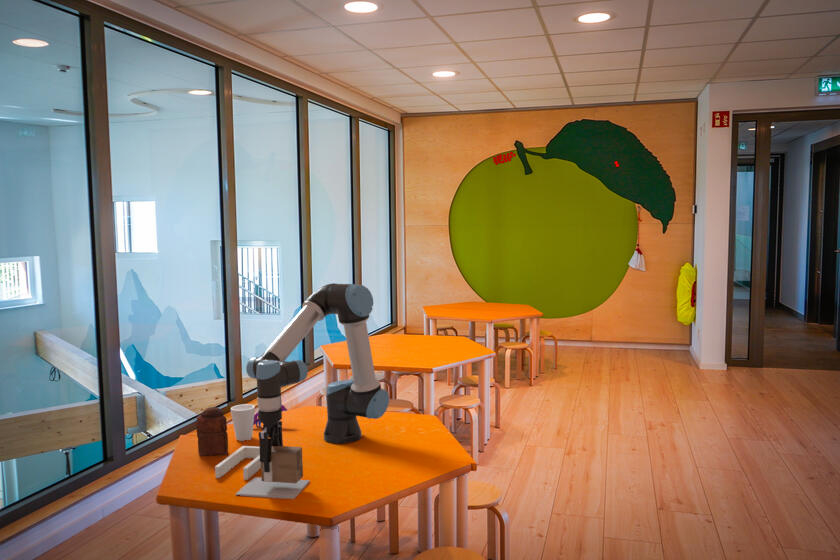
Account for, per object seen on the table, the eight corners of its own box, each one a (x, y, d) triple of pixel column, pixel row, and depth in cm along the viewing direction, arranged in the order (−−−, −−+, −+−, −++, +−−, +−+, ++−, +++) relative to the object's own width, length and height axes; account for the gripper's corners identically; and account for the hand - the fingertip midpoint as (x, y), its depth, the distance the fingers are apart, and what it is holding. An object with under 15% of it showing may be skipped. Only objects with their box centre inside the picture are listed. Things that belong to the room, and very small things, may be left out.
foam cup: (259, 435, 282) (257, 404, 280) (251, 442, 272) (250, 410, 271) (237, 434, 283) (235, 404, 281) (228, 442, 273) (227, 410, 272)
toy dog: (288, 427, 291) (287, 403, 290) (244, 430, 288) (243, 406, 287) (288, 424, 295) (287, 401, 294) (245, 427, 292) (244, 404, 291)
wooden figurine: (230, 449, 264) (228, 404, 263) (227, 455, 258) (225, 409, 256) (199, 451, 263) (197, 405, 262) (195, 457, 257) (193, 410, 255)
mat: (309, 482, 230) (309, 480, 230) (294, 499, 216) (293, 497, 216) (254, 478, 234) (254, 477, 234) (235, 495, 220) (235, 493, 220)
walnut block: (269, 474, 228) (268, 445, 227) (303, 476, 226) (301, 447, 225) (261, 481, 222) (260, 451, 221) (296, 483, 220) (295, 453, 219)
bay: (273, 457, 254) (272, 447, 254) (247, 479, 233) (247, 468, 233) (243, 456, 257) (242, 445, 256) (215, 477, 236) (214, 466, 235)
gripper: (271, 400, 233) (273, 466, 235) (246, 416, 214) (249, 487, 216) (291, 401, 231) (294, 467, 233) (268, 417, 213) (271, 488, 215)
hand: (272, 476), depth 225 cm, fingers closed on walnut block, 6 cm apart
